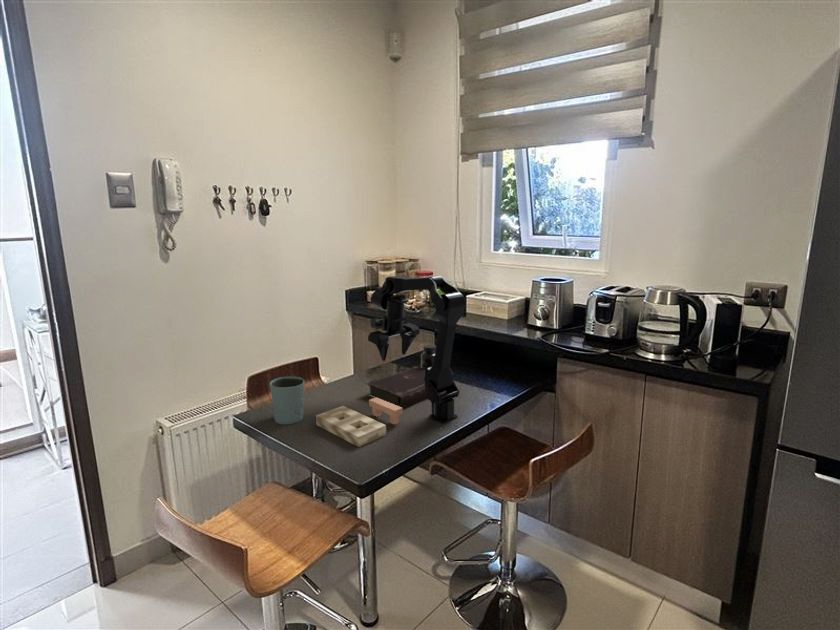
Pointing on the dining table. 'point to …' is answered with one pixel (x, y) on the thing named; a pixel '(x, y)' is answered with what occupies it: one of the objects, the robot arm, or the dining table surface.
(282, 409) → the teal cup
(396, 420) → the pink rectangular block
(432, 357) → the supplement bottle
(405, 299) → the robot arm
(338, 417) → the cream two-hole slab
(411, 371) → the diary
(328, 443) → the dining table surface
